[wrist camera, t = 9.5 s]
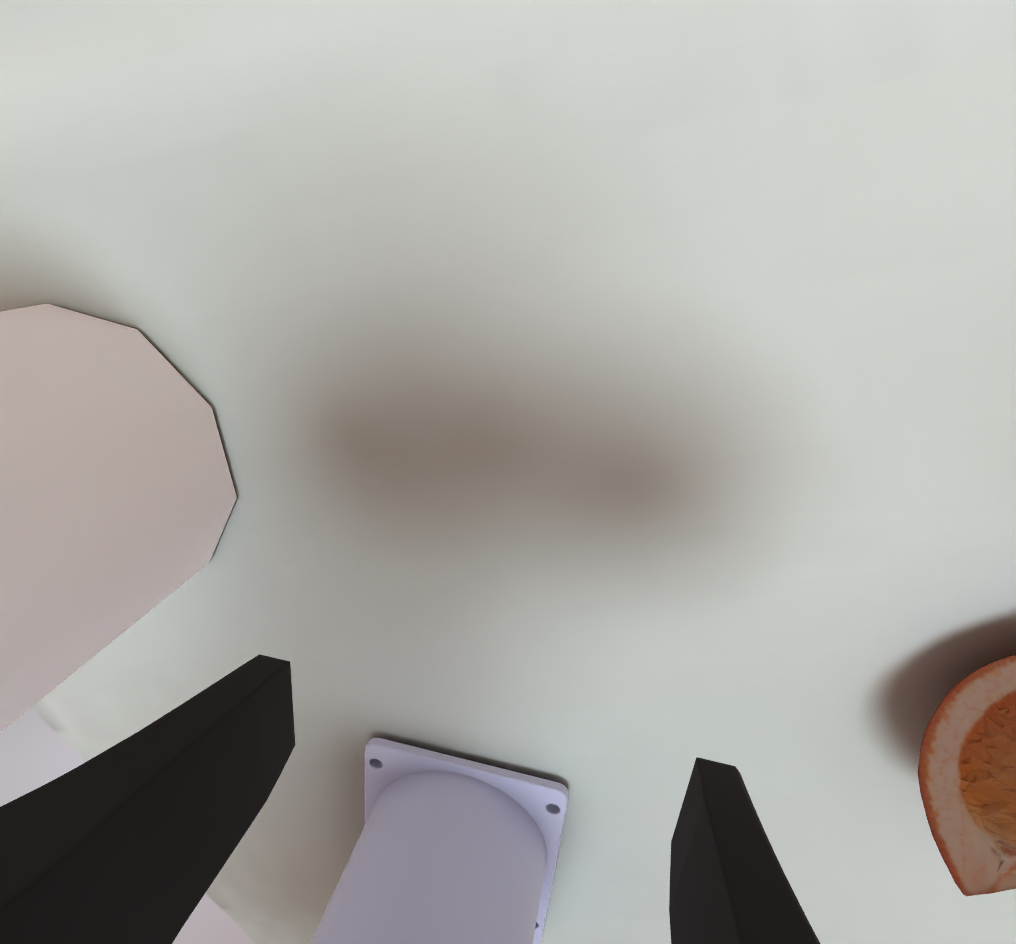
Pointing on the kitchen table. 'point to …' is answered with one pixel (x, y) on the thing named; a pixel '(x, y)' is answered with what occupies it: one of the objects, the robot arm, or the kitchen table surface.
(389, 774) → the robot arm
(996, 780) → the fruit slice
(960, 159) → the kitchen table surface
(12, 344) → the toilet paper
